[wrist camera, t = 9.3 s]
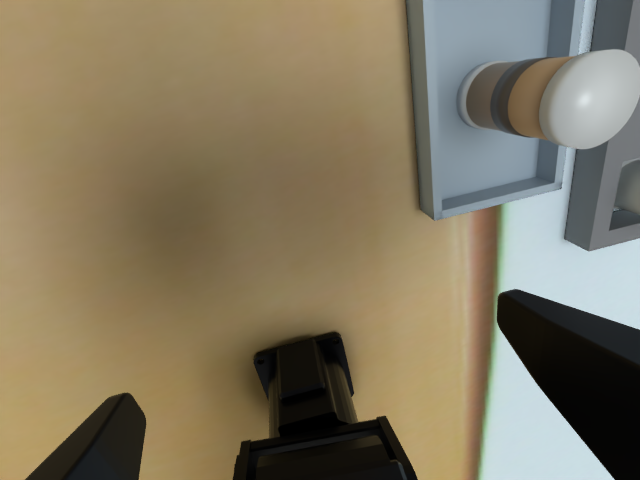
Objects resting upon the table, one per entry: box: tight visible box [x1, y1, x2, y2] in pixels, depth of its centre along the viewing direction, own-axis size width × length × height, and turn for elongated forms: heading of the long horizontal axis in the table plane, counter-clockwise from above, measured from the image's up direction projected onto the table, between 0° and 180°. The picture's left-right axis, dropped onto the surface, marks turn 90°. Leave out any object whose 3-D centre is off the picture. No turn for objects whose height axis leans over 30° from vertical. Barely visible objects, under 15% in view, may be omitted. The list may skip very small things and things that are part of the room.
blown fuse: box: [456, 49, 640, 149], centre depth 15 cm, size 3×3×7 cm
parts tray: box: [406, 0, 585, 221], centre depth 18 cm, size 12×8×2 cm, turn 11°
